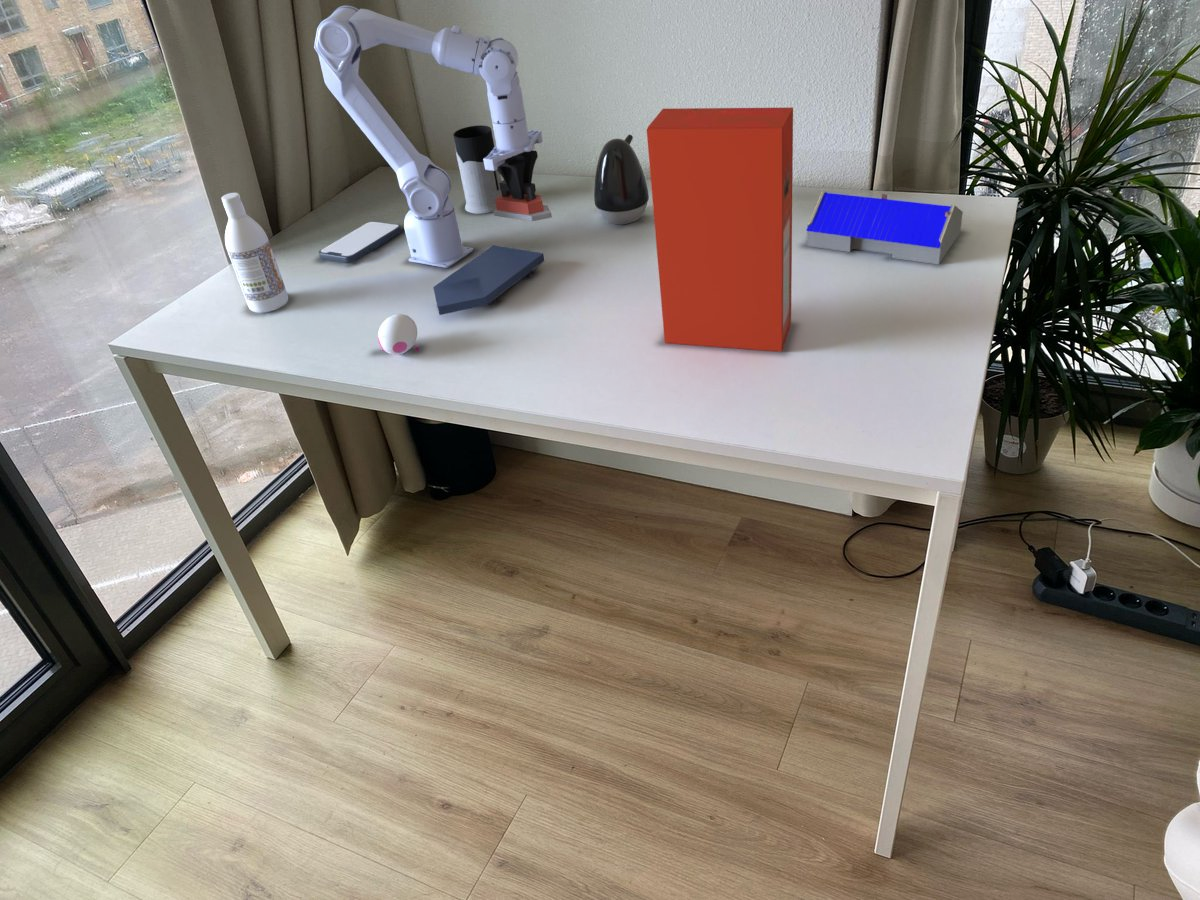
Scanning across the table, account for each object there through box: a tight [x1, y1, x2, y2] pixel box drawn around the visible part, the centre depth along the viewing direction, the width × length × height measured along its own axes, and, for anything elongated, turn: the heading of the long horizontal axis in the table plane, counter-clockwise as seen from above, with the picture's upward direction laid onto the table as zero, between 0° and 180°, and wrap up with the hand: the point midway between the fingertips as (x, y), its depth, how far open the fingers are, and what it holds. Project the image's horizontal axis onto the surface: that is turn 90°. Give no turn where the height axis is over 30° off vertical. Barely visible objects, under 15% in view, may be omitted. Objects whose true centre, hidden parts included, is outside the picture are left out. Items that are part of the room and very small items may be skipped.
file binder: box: [646, 106, 794, 353], centre depth 128 cm, size 8×17×32 cm, turn 71°
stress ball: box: [377, 313, 420, 356], centre depth 144 cm, size 8×8×7 cm
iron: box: [493, 179, 553, 222], centre depth 165 cm, size 11×5×6 cm, turn 59°
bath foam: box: [221, 192, 289, 314], centre depth 158 cm, size 7×7×20 cm
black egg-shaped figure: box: [593, 134, 650, 225], centre depth 172 cm, size 10×10×15 cm
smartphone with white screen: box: [318, 220, 403, 264], centre depth 180 cm, size 9×2×16 cm
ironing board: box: [432, 244, 545, 316], centre depth 157 cm, size 11×22×3 cm, turn 149°
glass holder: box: [452, 124, 502, 215], centre depth 185 cm, size 9×14×15 cm, turn 82°
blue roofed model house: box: [805, 190, 964, 265], centre depth 155 cm, size 22×14×7 cm, turn 58°
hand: (521, 196), depth 164 cm, fingers closed on iron
